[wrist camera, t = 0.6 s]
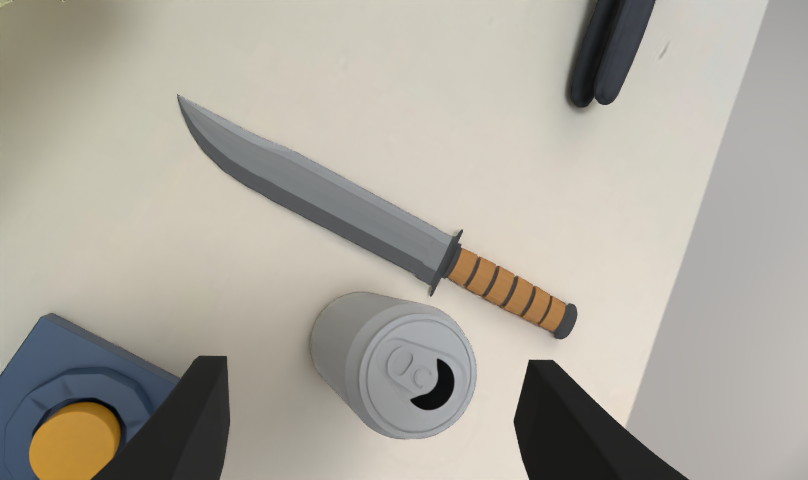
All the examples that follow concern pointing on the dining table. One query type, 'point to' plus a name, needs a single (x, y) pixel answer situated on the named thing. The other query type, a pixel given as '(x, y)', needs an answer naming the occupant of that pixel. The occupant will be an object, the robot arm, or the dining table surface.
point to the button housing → (71, 387)
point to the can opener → (609, 49)
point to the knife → (367, 219)
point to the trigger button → (75, 442)
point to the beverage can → (395, 363)
